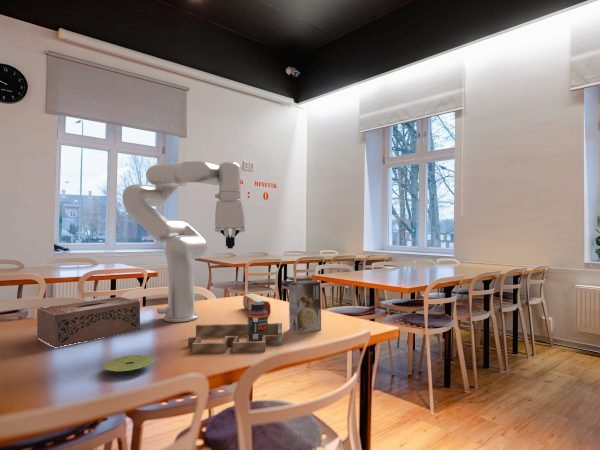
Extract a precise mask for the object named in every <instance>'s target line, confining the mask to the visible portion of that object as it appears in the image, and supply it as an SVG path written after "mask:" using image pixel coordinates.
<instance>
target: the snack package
mask: <svg viewBox="0 0 600 450" xmlns="http://www.w3.org/2000/svg"><path fill="white" fill-rule="evenodd" d="M242 299H243V300H242V304H243V308H244V309H246V310H248V312H249V311H250V310H251V304H252V303H255V302H262V303H264V308H265V310H266V311H267V313H268V317H270V315H271V313H272V309H271V303H270V301H268V300H266V299H264V298H262V297H259V296H258V295H256V294H254V293H248V294H245V295H243V297H242Z"/></svg>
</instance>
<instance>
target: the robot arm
mask: <svg viewBox="0 0 600 450" xmlns="http://www.w3.org/2000/svg"><path fill="white" fill-rule="evenodd" d="M145 177H146V180H147V181H148V182H149V184H151V185H149V184H141V183H139V184H131V185H128V186H126V187H125V188H124V190H123V193H122V204H123V206H124V207H123V208H124V209H125V211H126V213H127V214H128V215H129V216H130V217H131V218H132V219H133V220H134V221H135V222H137V223H138V225H140V226H141V227H142V228H143V230H144V231H146V232H147V233H148V234H149V235H150V236H151V237H152V238H153V239H154V240H155V241H156V242H158V243H160V244H165V246H164V253H165V257H166V265H167V289H168V290H167V294H168V295H167V296H168V297H167V299H168V300H167V304H168V306H167V307H158V308H156V309H157V310H156V311H157V314H159V315H162V314H163V315H164V316H163V320H164V321H165V322H171V323H183V322H191V321H194V320H196V319H198V318H199V313H198V312H195V269H194V265H193V263H192V262H191V260H196V259H200V258H202V257H204V256H205V255H206V253H207V251H208V244H207V243H208V242H207V241H206V239H205V238H204V237H203V236H202V235H201V234H200V233H199V231H197V230H195V228H193V227H192V226H191V225H190V224H189V223H188V222H186V221H184V220H182V219H172V218H171V219H170V218H166V217H165V216H164V215H162V213H160V211H158V209H156V208H154V207H160V206H162V205H164V203H166V202H167V201H168V200H169V199H170V197H172V195H173V194H174V193H175V191H176V190H177V189H178V188H179V187H183V186H184V187H185V186H186V185H187V184H188V183H200V184H208V185H213V186H218V187H219V188H218V193H215V194H214V197H215V198H216V199H218V200H217V201H216V204H215V214H214V226H215V228H214V232H215V233H216V232H217V233H219V234H222V235H223V236H224V237H225V247H227V249H229V250H231V249H234V247H235V245H236V244H235V241H236V238H235V237H236V236H237V235H238V234H240V233H243V232H246V227H245V209H244V203H243V200H241V167H240V164H239V163H237V162H233V161H232V162H231V161H226V162H221V163H220V164H217V163H216V164H215V163H211V162H208V161H207V162H206V161H201V160H200V161H194V160H193V161H183V162H180V163H167V164H166V163H163V164H153V165H151V166H150V167H148V169H147V170H146V172H145ZM229 229H231V235H230V233H229Z"/></svg>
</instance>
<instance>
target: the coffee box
mask: <svg viewBox="0 0 600 450" xmlns="http://www.w3.org/2000/svg"><path fill="white" fill-rule="evenodd" d="M321 303H322V299H321V281H318V280H317V281H316V280H312V279H311V280H310V279H309V280H299V281H289V282H288V311H289V313H288V317H289V318H288V319H289V320H288V321H289V330H290V331H292V332H293V333H296V334H303V333H308V332H310V333H311V332H315V331H321V330H322V304H321Z"/></svg>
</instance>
